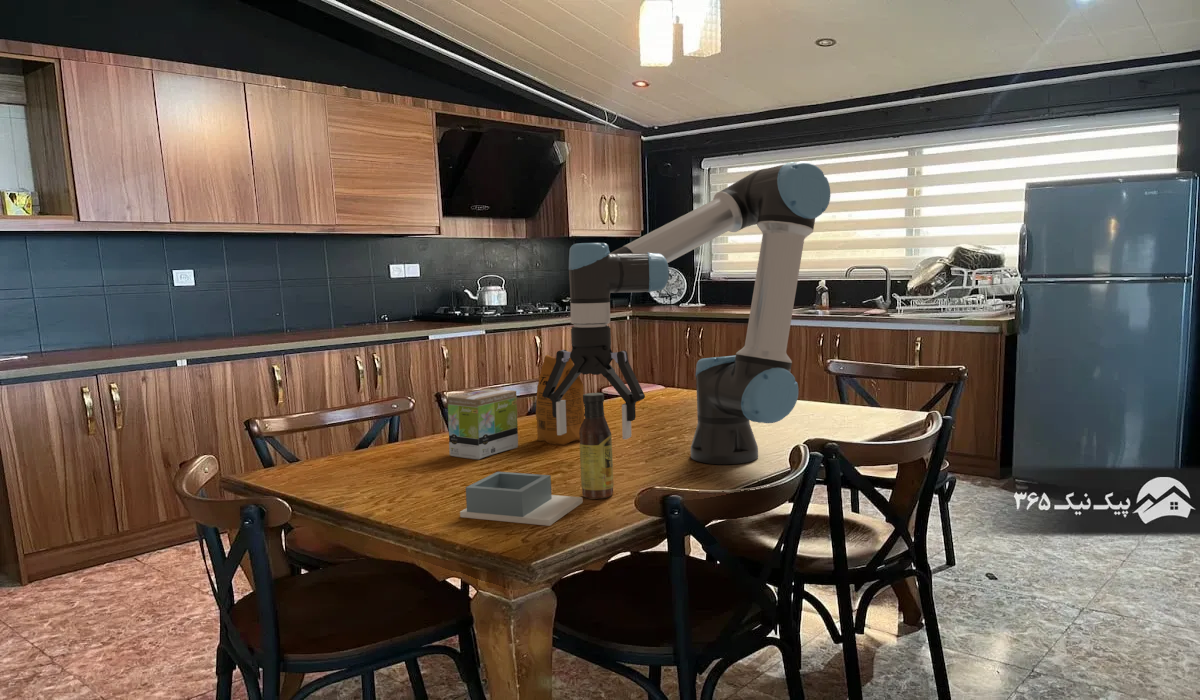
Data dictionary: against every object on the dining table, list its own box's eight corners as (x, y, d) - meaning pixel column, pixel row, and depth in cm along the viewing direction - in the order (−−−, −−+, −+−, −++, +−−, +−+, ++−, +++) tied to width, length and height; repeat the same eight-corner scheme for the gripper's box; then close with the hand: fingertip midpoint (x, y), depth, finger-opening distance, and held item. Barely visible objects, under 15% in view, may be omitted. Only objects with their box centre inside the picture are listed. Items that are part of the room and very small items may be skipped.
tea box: (480, 460, 186) (477, 398, 185) (448, 456, 192) (445, 396, 190) (520, 447, 199) (517, 388, 198) (489, 444, 204) (486, 387, 203)
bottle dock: (582, 502, 149) (581, 474, 149) (549, 525, 136) (548, 494, 136) (499, 495, 156) (497, 468, 156) (460, 517, 143) (458, 487, 143)
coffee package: (561, 434, 213) (557, 352, 211) (590, 440, 203) (587, 355, 201) (531, 440, 207) (526, 356, 204) (559, 447, 197) (555, 359, 195)
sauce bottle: (614, 500, 150) (609, 396, 148) (581, 501, 150) (576, 397, 148) (613, 490, 157) (610, 390, 155) (582, 491, 157) (578, 392, 155)
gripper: (659, 323, 149) (662, 435, 151) (540, 324, 158) (544, 428, 160) (646, 326, 142) (648, 443, 144) (523, 326, 151) (527, 436, 153)
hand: (593, 436), depth 152 cm, fingers open, 13 cm apart
